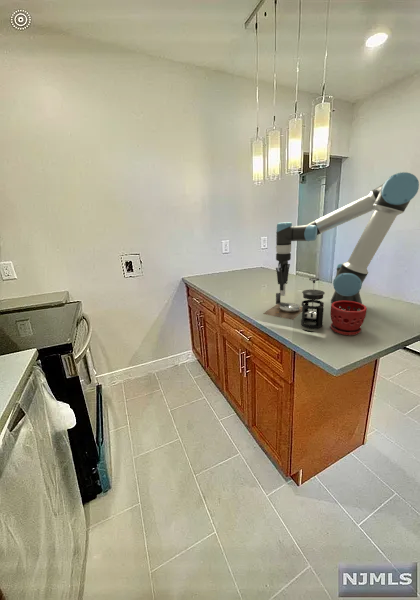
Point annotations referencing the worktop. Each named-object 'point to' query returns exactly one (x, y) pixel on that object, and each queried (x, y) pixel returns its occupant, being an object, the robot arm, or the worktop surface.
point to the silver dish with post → (287, 305)
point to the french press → (310, 315)
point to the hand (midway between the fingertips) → (282, 295)
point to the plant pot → (347, 317)
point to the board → (278, 313)
